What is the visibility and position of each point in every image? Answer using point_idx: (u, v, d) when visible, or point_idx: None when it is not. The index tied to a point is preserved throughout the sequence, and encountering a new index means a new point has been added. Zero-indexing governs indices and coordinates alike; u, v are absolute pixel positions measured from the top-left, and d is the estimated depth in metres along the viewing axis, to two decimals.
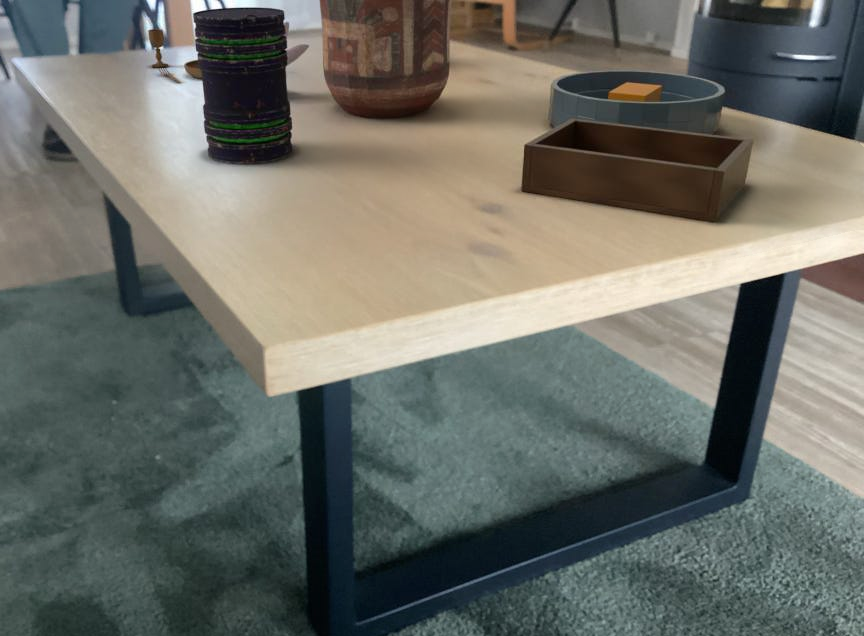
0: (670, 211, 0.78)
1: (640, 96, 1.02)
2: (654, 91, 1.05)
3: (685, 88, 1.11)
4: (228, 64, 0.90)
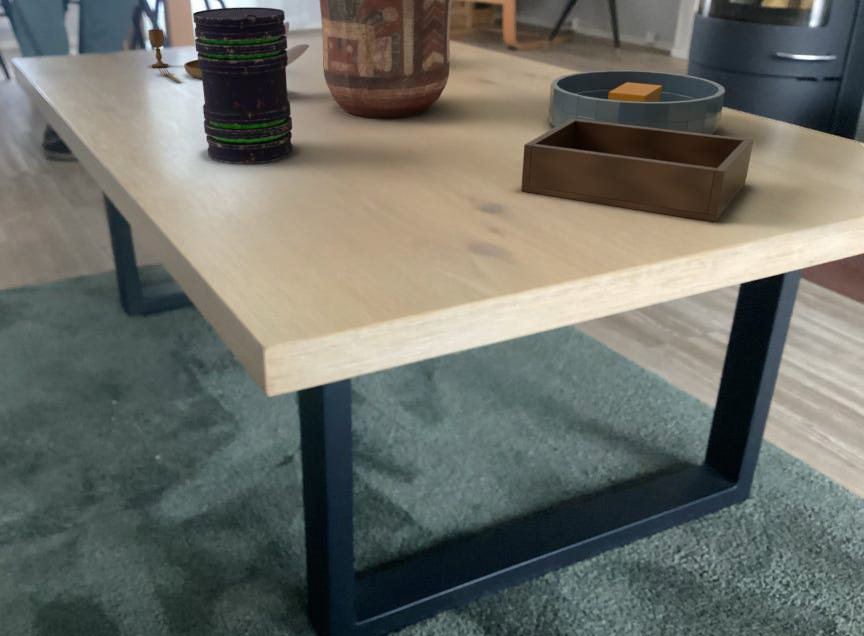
0: (670, 211, 0.78)
1: (640, 96, 1.02)
2: (654, 91, 1.05)
3: (685, 88, 1.11)
4: (229, 64, 0.90)
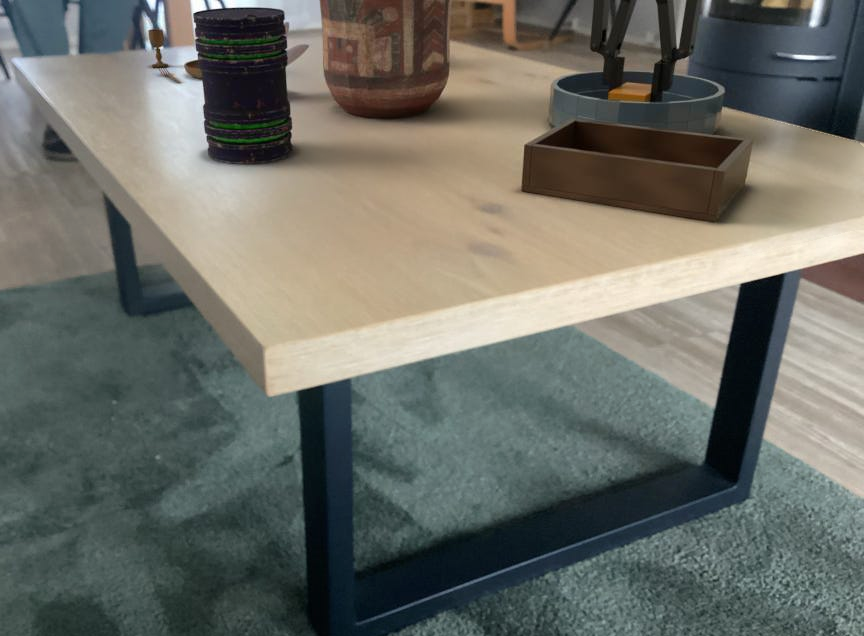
0: (670, 211, 0.78)
1: (640, 96, 1.02)
2: None
3: (685, 88, 1.11)
4: (229, 63, 0.90)
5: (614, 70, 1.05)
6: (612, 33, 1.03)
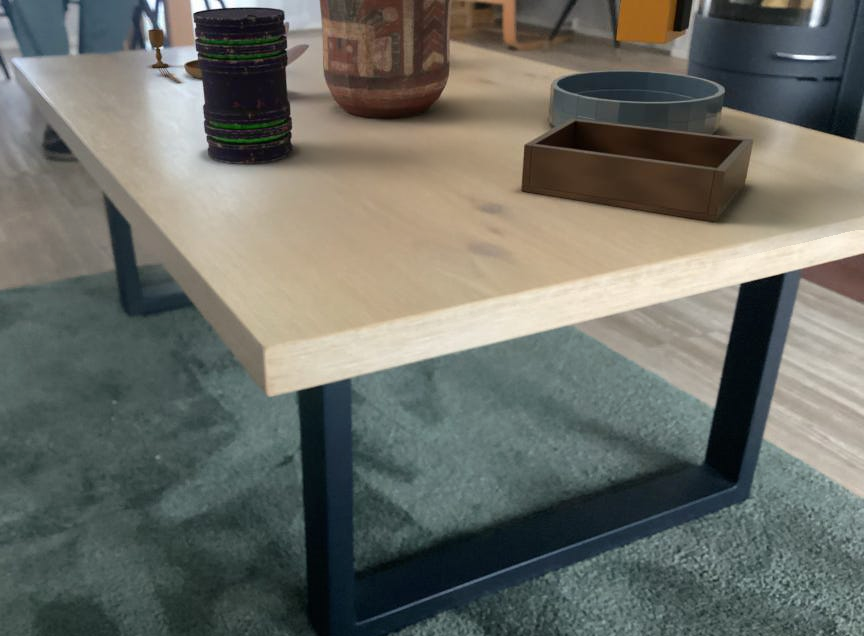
0: (670, 211, 0.78)
1: None
2: None
3: (685, 88, 1.11)
4: (229, 63, 0.90)
5: None
6: None
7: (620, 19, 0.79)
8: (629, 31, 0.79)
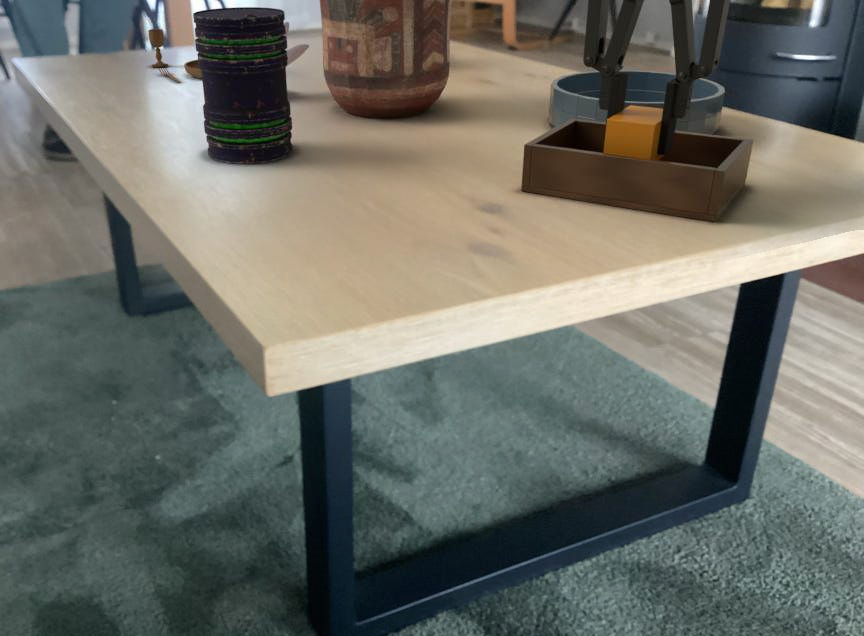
0: (670, 211, 0.78)
1: (648, 125, 0.79)
2: None
3: None
4: (229, 63, 0.90)
5: (614, 91, 0.81)
6: (612, 43, 0.80)
7: (606, 142, 0.81)
8: (615, 154, 0.81)
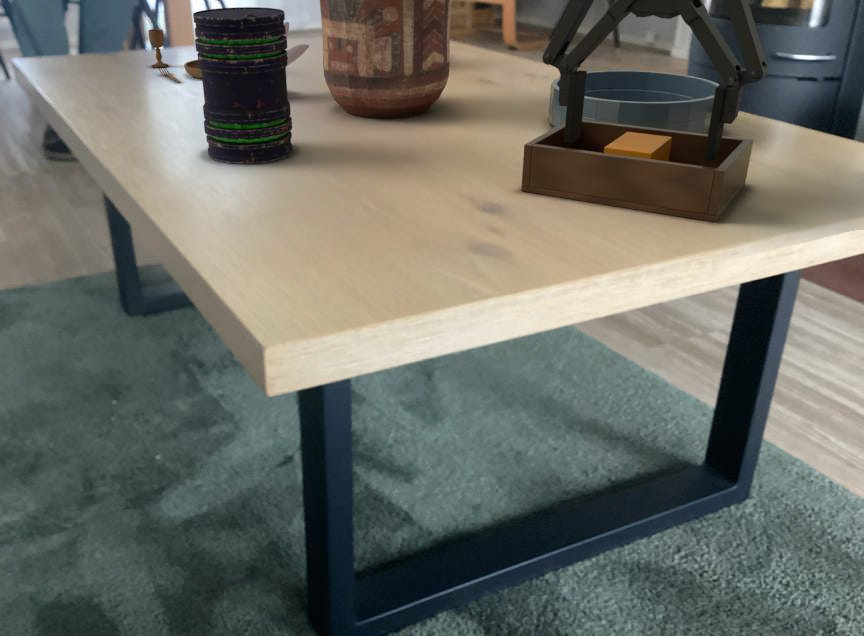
0: (670, 211, 0.78)
1: (644, 154, 0.80)
2: (662, 145, 0.82)
3: (685, 88, 1.11)
4: (229, 63, 0.90)
5: (572, 87, 0.83)
6: (579, 46, 0.81)
7: None
8: None
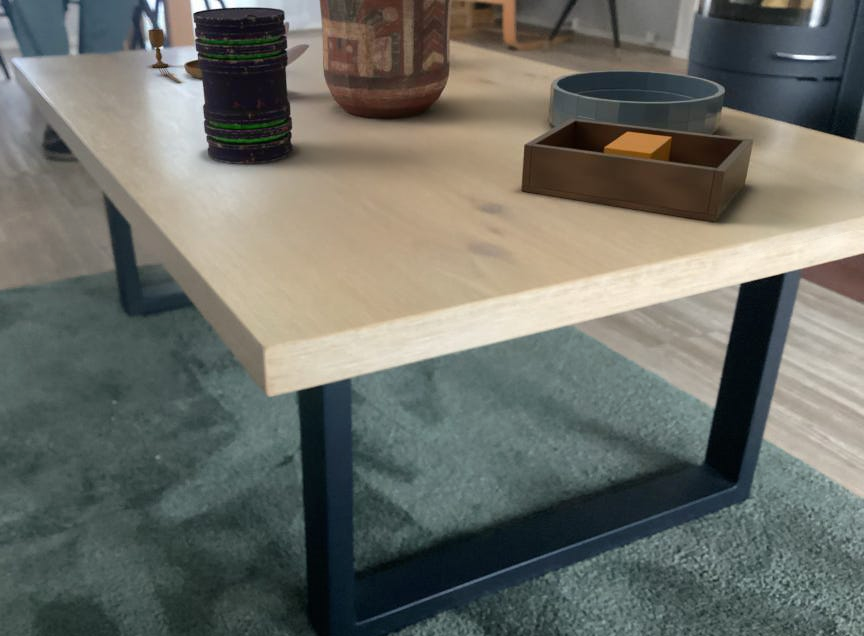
0: (670, 211, 0.78)
1: (644, 154, 0.80)
2: (662, 145, 0.82)
3: (685, 88, 1.11)
4: (229, 63, 0.90)
5: None
6: None
7: None
8: None
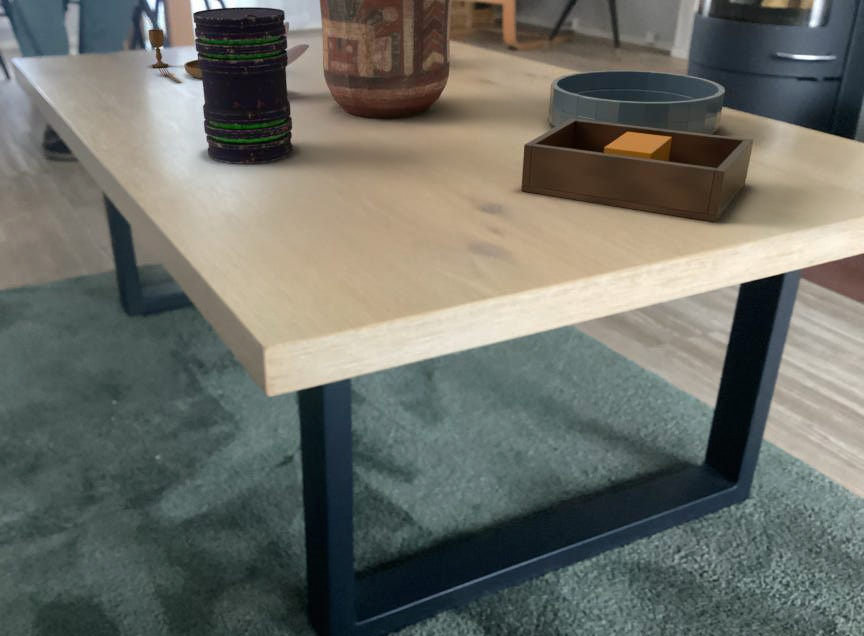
0: (670, 211, 0.78)
1: (644, 154, 0.80)
2: (662, 145, 0.82)
3: (685, 88, 1.11)
4: (229, 63, 0.90)
5: None
6: None
7: None
8: None
